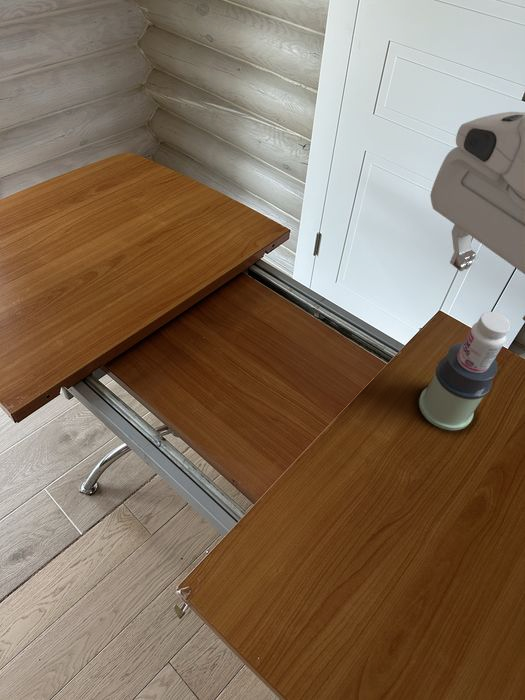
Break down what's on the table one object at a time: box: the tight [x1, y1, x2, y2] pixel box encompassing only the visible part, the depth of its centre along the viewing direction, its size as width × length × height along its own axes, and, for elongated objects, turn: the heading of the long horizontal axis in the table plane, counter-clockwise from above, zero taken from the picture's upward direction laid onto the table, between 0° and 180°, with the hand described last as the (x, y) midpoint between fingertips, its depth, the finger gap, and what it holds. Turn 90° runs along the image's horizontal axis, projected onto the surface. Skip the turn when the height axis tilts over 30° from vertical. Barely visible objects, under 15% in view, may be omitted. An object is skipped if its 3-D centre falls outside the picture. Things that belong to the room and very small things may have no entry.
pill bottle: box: [457, 311, 511, 373], centre depth 73 cm, size 5×5×8 cm
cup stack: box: [418, 342, 499, 431], centre depth 81 cm, size 9×9×12 cm
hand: (494, 293), depth 51 cm, fingers open, 8 cm apart
